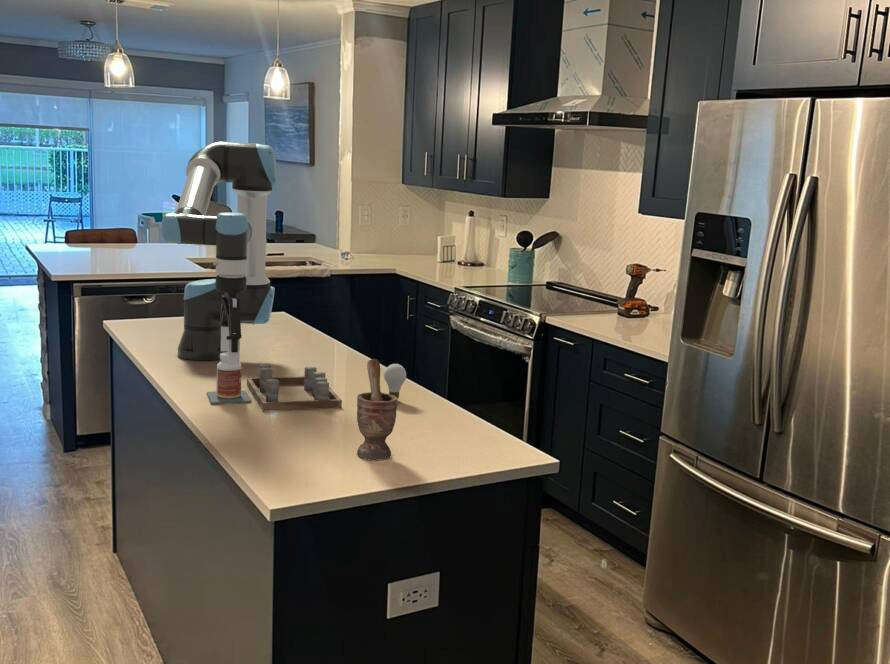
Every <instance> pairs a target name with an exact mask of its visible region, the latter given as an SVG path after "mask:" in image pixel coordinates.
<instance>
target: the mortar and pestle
mask: <svg viewBox="0 0 890 664" xmlns="http://www.w3.org/2000/svg"><path fill="white" fill-rule="evenodd" d="M380 363H381V362H380V360H379V359H377V358H372V359H369V360H368V361H367V364H366V365H367V366H366V367H367V375H368V380H369V387H370V391H369V392H363V393H359V394H357V397H356V407H357V408H356V409H357V410H356V421H357V422H356V423H357V426H358V431H359V432H360V434H361V435H362V436H363V437H364V441H363V443H361V444H360V445H359V447H358V449H357V451H356V452H357V453H356V455H357V456H358V457H360V458H363V459H365V458H366V460H368V459H370V460H369V461H371V460H376V461H380V460H386V459H389V458H391V457H392V451H391V448H390V446H389V445H388V444H387V442H386V440H387V438H388V437H389V436H390V435H391V434H392V432H393V431H394V428H395V424H396V420H397V409H398V399H397V397H396V396H394V395H391V394H389V393H384V392H381V364H380ZM390 456H391V457H390Z"/></svg>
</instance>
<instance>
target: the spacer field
mask: <svg viewBox="0 0 890 664" xmlns="http://www.w3.org/2000/svg"><path fill="white" fill-rule="evenodd" d="M317 369H318V368H317V367H315V366H305V367H304V375H302V376H276V377H273V368H272V364H269V363H264V364H263V363H262V364H259V369H258V370H259V373H258V377H247V378H246V387H247V388H248V391H250V393H251V394H252V397H254V399H255V401H256V403H257V404H258V406H259V407H260V409H261V411H262V412H273V411H275V412H276V411H277V412H278V411H296V410H297V411H298V410H301V411H302V410H319V409H320V410H321V409H322V410H323V409H325V410H326V409H342V408H343V407H342V406H343V405H342V404H343V399H341V397H339V395H338V394H337V393H336V391H334V390H333V389H332V388H331V387H330V382H328V378H326V372H323V371H317ZM288 385H289V386H292V385H303V390H304V391H306V392H312V396H313V399H312V400H309V399H308V400H287V401H286V400H285V401H284V400H281V401H279V399H280V397H279V394H280V386H288ZM258 388H259V389H258ZM261 393H265V398H264V396H263V395H262V394H261Z"/></svg>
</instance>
